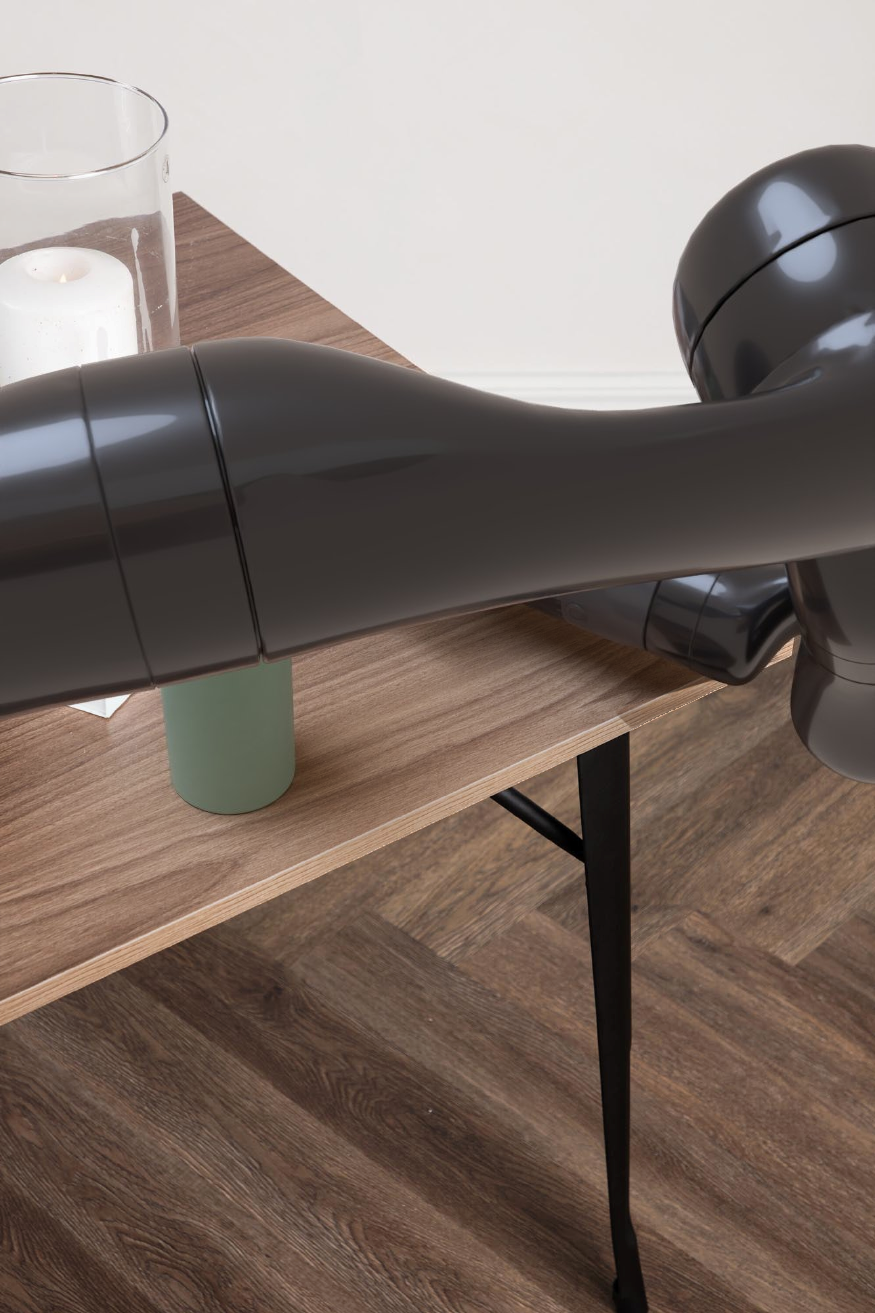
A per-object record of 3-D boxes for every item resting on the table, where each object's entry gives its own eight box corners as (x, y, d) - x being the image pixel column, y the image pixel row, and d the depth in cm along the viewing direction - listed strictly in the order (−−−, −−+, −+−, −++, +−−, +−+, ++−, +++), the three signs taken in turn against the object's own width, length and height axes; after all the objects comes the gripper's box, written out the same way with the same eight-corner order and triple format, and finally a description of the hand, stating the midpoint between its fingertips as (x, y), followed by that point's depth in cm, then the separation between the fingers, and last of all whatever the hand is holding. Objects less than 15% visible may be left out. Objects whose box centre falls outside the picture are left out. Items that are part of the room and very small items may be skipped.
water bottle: (202, 832, 70) (170, 513, 57) (150, 752, 74) (110, 439, 61) (317, 785, 72) (310, 472, 60) (261, 711, 76) (244, 403, 64)
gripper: (667, 448, 80) (418, 358, 87) (540, 571, 71) (272, 460, 78) (649, 554, 85) (414, 462, 92) (528, 683, 76) (277, 570, 82)
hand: (350, 462), depth 85 cm, fingers open, 5 cm apart
